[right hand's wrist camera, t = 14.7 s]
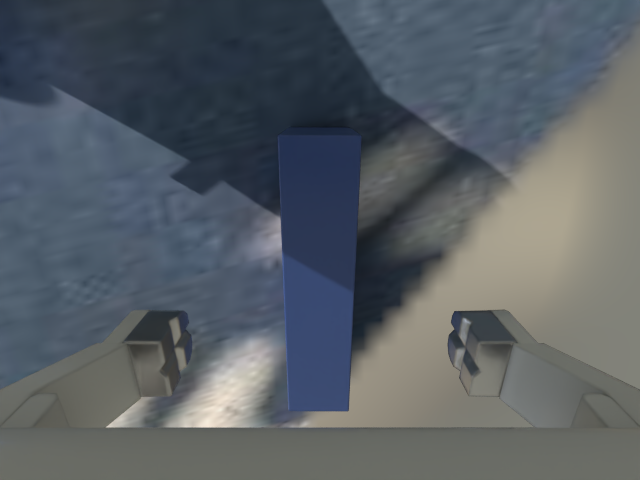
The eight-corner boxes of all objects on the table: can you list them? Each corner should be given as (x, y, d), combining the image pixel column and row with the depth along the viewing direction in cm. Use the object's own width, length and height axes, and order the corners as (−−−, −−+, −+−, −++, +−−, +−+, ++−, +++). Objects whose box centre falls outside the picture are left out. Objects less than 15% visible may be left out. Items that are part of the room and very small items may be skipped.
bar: (288, 127, 28) (277, 134, 21) (350, 127, 28) (362, 135, 21) (294, 349, 36) (288, 411, 29) (342, 349, 36) (348, 411, 29)
